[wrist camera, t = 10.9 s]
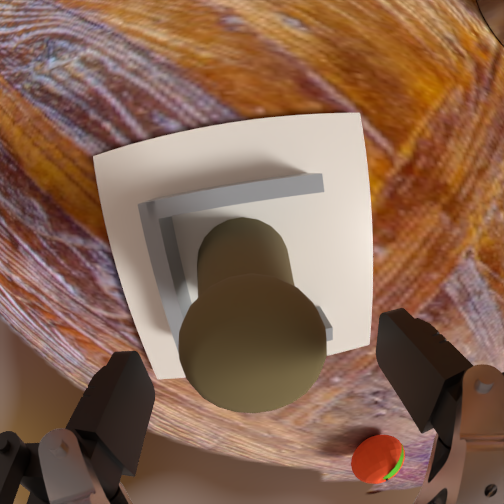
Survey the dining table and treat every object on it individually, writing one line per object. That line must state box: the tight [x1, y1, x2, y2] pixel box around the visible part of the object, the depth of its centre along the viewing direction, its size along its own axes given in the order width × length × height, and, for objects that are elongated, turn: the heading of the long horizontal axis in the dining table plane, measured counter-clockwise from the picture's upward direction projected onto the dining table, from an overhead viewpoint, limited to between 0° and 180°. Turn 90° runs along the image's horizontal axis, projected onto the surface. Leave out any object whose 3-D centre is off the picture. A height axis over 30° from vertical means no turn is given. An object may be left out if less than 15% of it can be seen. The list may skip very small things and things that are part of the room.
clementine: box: [351, 435, 405, 484], centre depth 24 cm, size 8×7×7 cm
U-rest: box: [93, 113, 373, 379], centre depth 17 cm, size 18×18×4 cm
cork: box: [178, 217, 327, 413], centre depth 13 cm, size 6×6×11 cm
